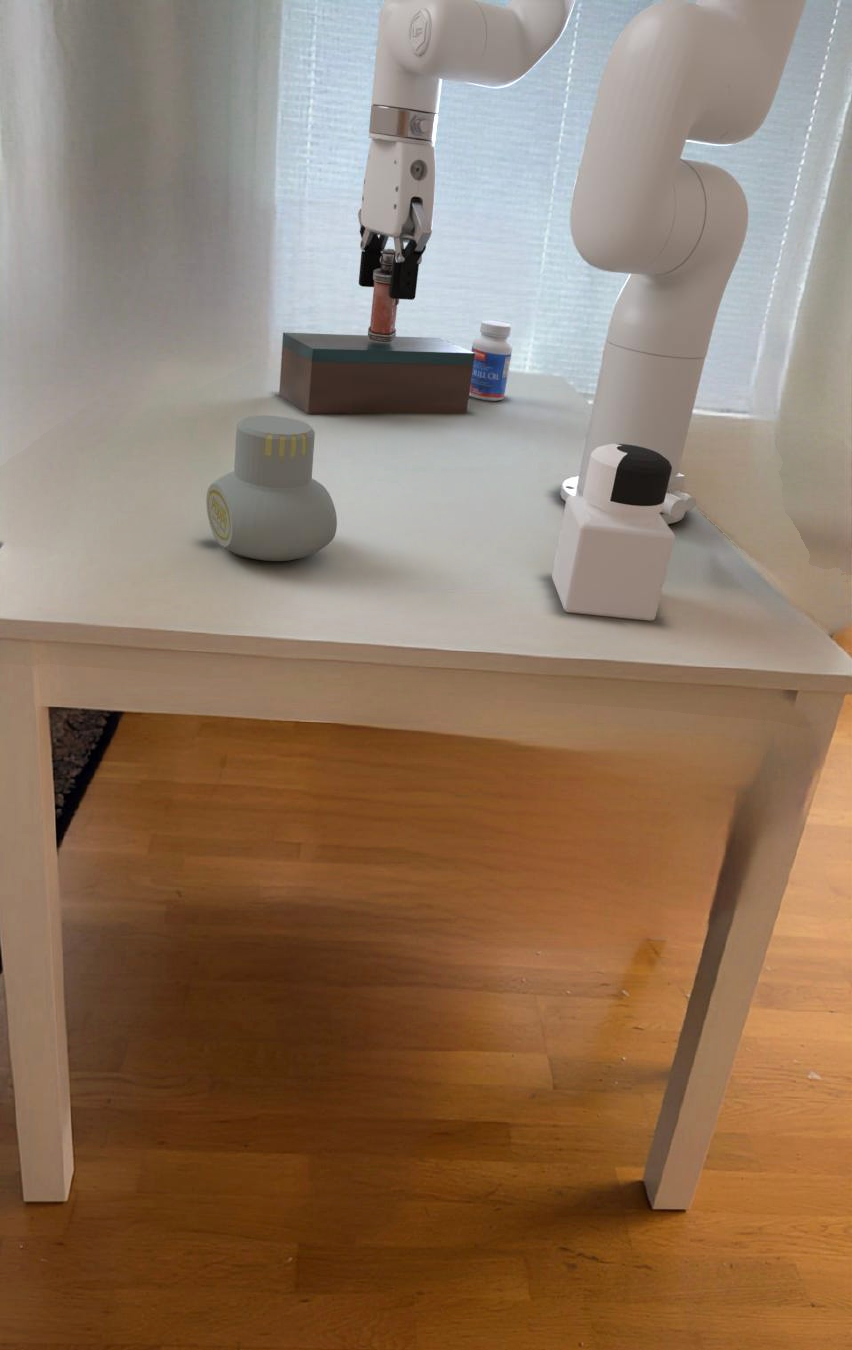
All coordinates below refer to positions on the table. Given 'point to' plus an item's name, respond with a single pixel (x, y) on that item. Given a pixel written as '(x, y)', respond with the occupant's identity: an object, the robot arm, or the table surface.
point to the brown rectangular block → (374, 374)
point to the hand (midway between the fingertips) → (386, 291)
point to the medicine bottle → (616, 536)
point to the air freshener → (272, 494)
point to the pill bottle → (491, 361)
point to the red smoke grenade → (383, 302)
